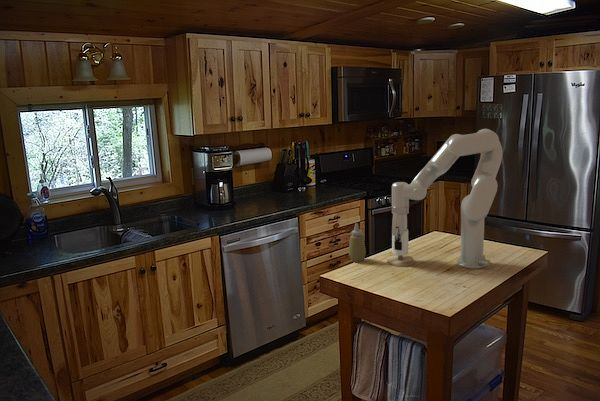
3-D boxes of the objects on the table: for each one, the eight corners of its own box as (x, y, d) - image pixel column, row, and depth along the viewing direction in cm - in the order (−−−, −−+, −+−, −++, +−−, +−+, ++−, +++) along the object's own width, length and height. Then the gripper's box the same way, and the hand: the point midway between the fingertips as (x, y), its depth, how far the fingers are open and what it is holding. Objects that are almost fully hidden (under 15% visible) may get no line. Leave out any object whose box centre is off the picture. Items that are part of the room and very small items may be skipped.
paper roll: (411, 253, 220) (411, 229, 217) (400, 256, 216) (400, 232, 214) (399, 249, 225) (399, 226, 223) (389, 252, 222) (389, 229, 219)
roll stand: (419, 262, 220) (419, 240, 218) (400, 268, 213) (400, 245, 211) (399, 256, 230) (399, 235, 228) (381, 261, 223) (381, 240, 221)
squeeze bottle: (368, 259, 228) (368, 222, 224) (361, 264, 221) (360, 226, 217) (353, 256, 232) (352, 220, 228) (345, 261, 225) (344, 224, 222)
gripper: (396, 205, 226) (396, 241, 229) (387, 213, 210) (387, 252, 214) (412, 205, 222) (412, 242, 226) (404, 214, 207) (403, 253, 211)
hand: (400, 247), depth 220 cm, fingers closed on paper roll, 7 cm apart
